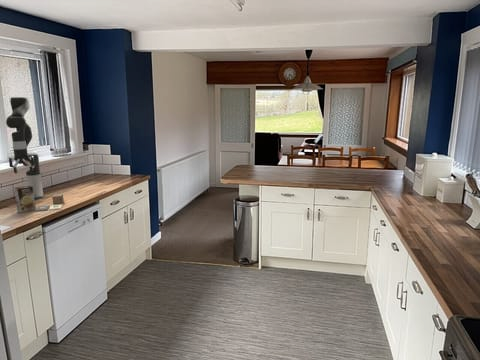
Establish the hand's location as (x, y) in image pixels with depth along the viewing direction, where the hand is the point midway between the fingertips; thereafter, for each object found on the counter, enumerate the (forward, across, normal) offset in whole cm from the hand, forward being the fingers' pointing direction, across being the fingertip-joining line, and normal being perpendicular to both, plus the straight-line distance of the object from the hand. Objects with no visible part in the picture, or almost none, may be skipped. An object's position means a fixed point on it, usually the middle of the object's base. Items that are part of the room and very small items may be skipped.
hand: (23, 172), depth 233 cm
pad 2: (+25, -17, +3) cm, 30 cm away
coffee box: (+25, +1, +3) cm, 25 cm away
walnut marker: (+25, -16, -9) cm, 31 cm away
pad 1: (+25, -9, +3) cm, 27 cm away
